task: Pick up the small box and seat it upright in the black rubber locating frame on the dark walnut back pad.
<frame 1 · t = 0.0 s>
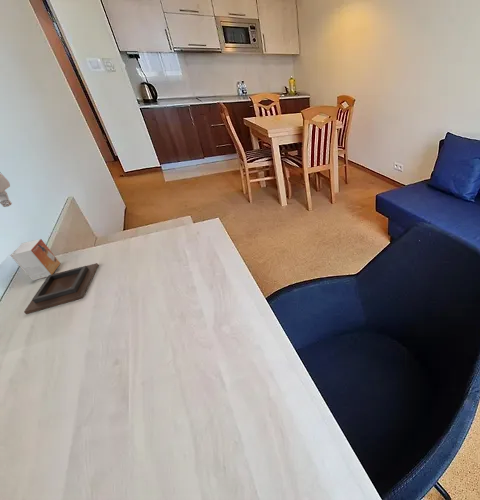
hand: (0, 211, 94), 22 cm above the table, tool pointing down, fingers open, 8 cm apart
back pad: (65, 287, 95), on the table
small box: (47, 272, 103), on the table
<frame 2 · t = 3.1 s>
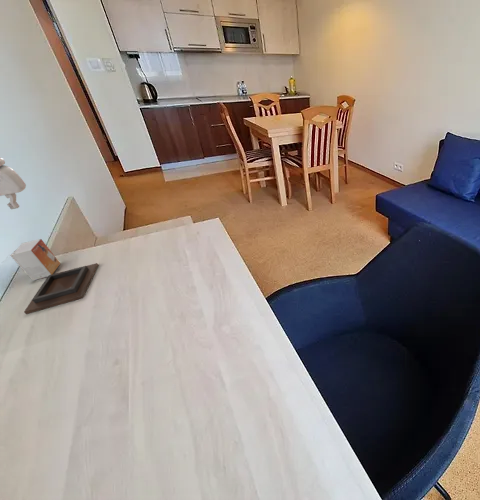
nothing on the table moved.
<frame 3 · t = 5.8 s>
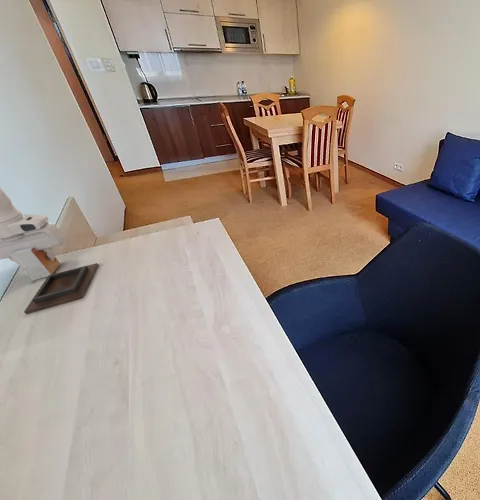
hand: (39, 262, 101), 4 cm above the table, tool pointing down, fingers closed on small box, 5 cm apart
small box: (47, 272, 103), on the table, touching gripper
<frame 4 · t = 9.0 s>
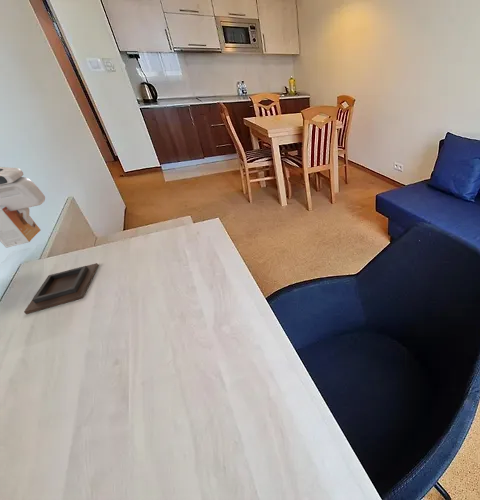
hand: (14, 226, 85), 21 cm above the table, tool pointing down, fingers closed on small box, 5 cm apart
small box: (25, 239, 87), point 17 cm above the table, touching gripper
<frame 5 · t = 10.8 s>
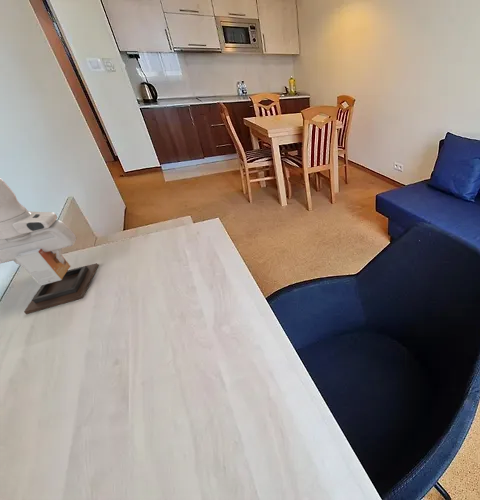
hand: (47, 265, 90), 9 cm above the table, tool pointing down, fingers closed on small box, 5 cm apart
small box: (56, 276, 93), point 5 cm above the table, touching gripper
when the fingers open (5 cm above the table, at t = 12.3 s): small box stays where it is, resting on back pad.
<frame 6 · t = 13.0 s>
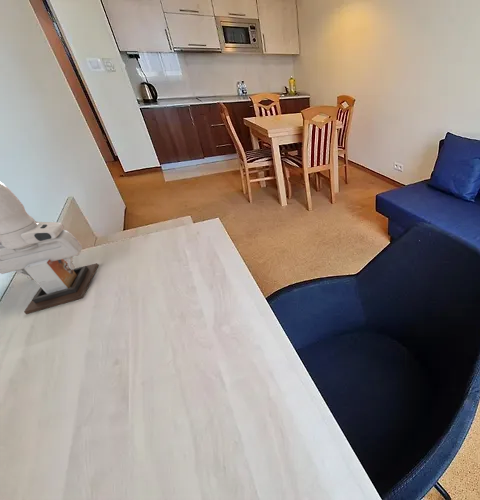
hand: (53, 273, 92), 6 cm above the table, tool pointing down, fingers open, 8 cm apart
small box: (63, 285, 95), point 1 cm above the table, touching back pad
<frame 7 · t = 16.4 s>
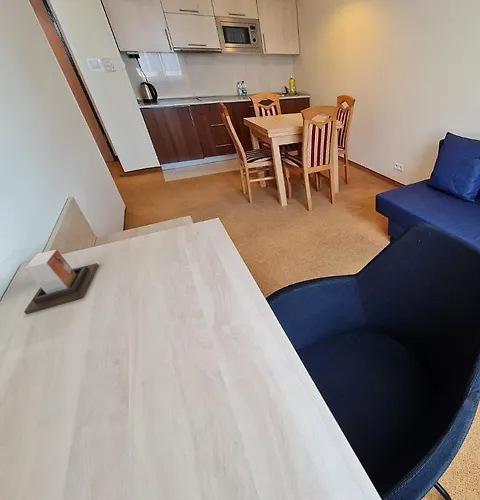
nothing on the table moved.
at the end: small box 0.1 cm off-centre on the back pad, point 0.8 cm above the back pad's base; small box tilted 0° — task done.
